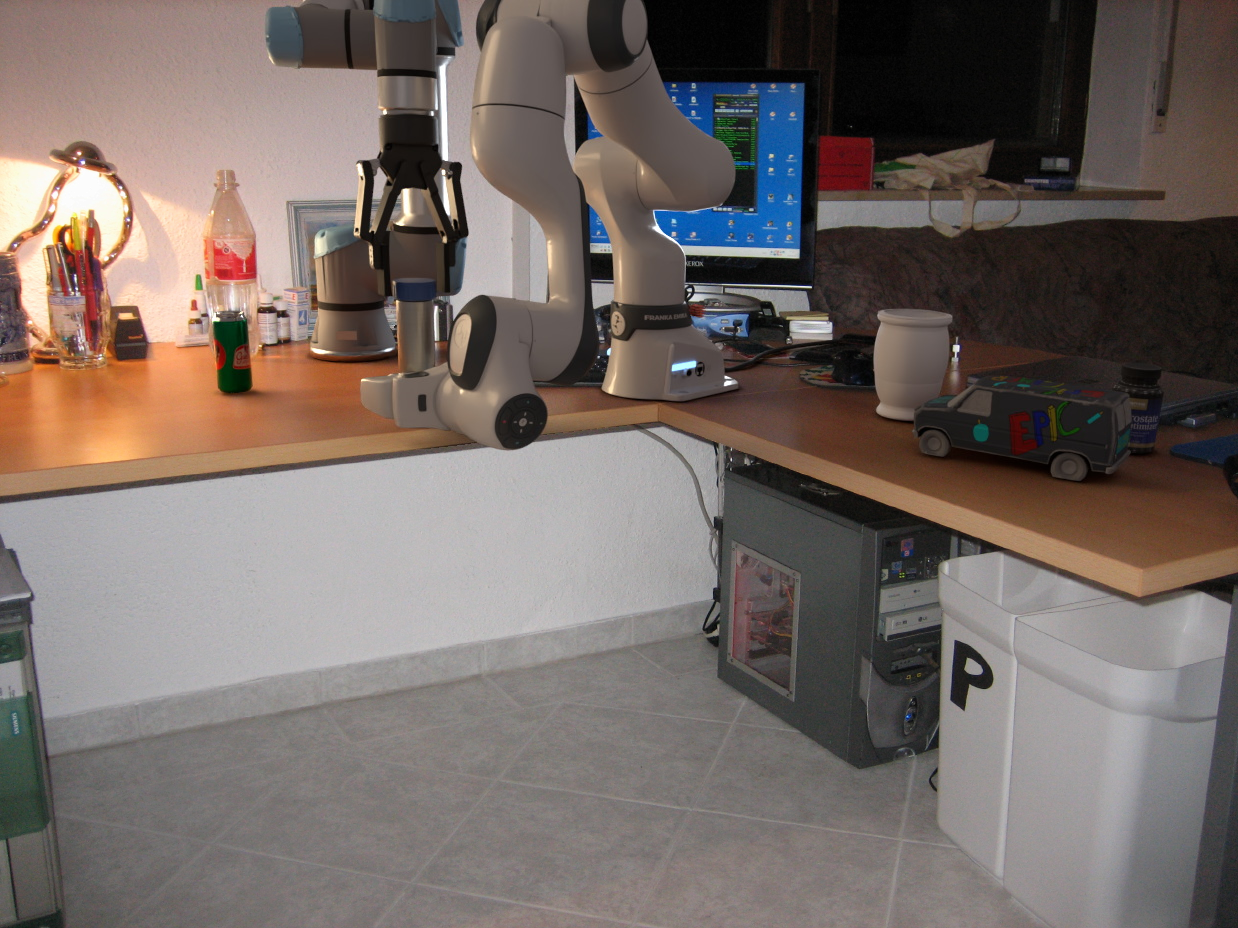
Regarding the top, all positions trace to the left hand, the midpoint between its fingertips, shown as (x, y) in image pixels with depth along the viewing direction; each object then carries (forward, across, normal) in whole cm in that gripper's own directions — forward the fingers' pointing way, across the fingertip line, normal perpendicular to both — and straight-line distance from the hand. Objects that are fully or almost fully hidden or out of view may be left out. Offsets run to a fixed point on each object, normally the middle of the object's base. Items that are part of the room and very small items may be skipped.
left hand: (414, 293), depth 143 cm
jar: (+18, -64, +28) cm, 72 cm away
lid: (-1, 0, 0) cm, 1 cm away
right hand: (+12, 0, -1) cm, 12 cm away
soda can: (+18, +18, -30) cm, 39 cm away
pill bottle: (+18, -78, +55) cm, 97 cm away
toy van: (+18, -59, +52) cm, 81 cm away
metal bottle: (+18, 0, 0) cm, 18 cm away
